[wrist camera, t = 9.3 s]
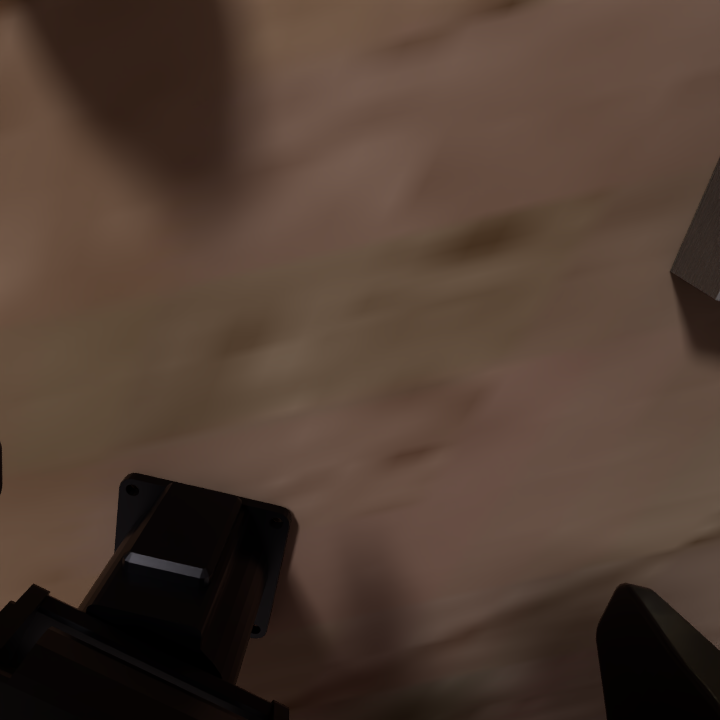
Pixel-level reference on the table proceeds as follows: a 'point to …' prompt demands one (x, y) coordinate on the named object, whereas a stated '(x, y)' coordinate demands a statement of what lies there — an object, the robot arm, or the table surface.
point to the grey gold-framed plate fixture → (703, 243)
